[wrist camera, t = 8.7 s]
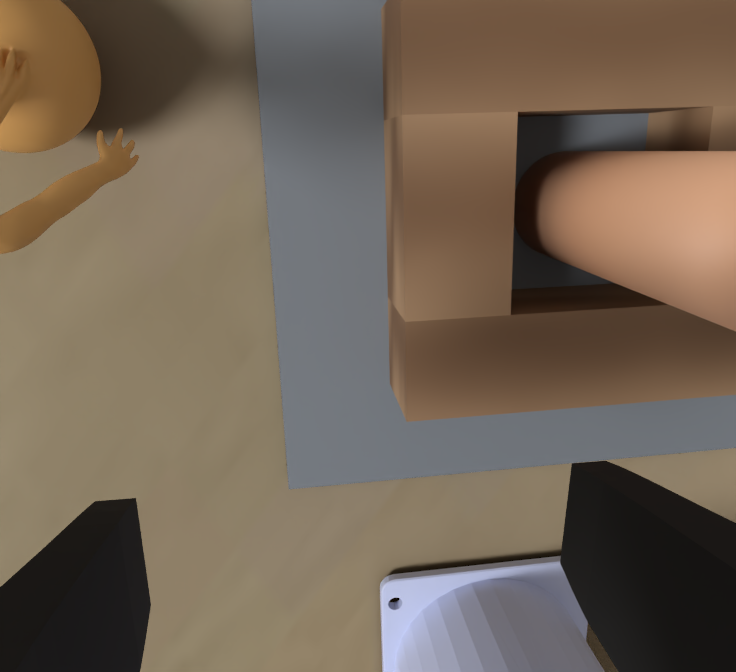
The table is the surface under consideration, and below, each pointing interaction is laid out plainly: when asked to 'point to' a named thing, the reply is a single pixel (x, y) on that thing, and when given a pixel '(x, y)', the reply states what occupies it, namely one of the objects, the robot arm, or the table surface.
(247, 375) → the table surface
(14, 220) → the figurine
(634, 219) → the dowel
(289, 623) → the table surface
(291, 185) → the mat
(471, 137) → the square frame
